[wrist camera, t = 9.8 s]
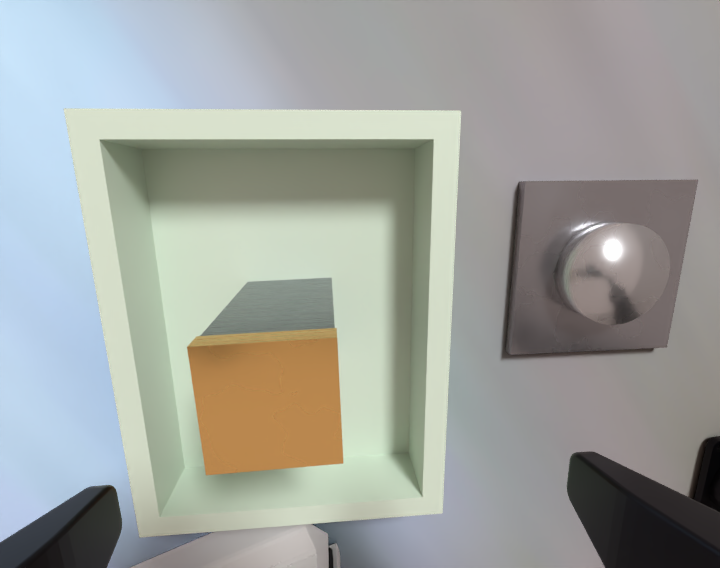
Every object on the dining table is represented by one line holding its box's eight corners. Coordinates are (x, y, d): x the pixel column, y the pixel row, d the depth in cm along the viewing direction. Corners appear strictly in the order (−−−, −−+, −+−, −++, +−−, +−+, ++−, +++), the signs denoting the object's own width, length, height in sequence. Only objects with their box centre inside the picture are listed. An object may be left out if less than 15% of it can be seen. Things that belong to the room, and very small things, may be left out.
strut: (332, 276, 19) (337, 337, 11) (336, 355, 20) (343, 463, 12) (246, 280, 18) (186, 347, 10) (254, 360, 19) (205, 475, 11)
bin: (422, 457, 22) (442, 513, 19) (173, 474, 21) (139, 537, 17) (432, 128, 18) (461, 110, 14) (123, 127, 17) (63, 108, 13)
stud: (657, 343, 22) (689, 357, 20) (505, 350, 21) (523, 366, 19) (687, 180, 20) (726, 178, 18) (519, 181, 19) (541, 180, 17)
